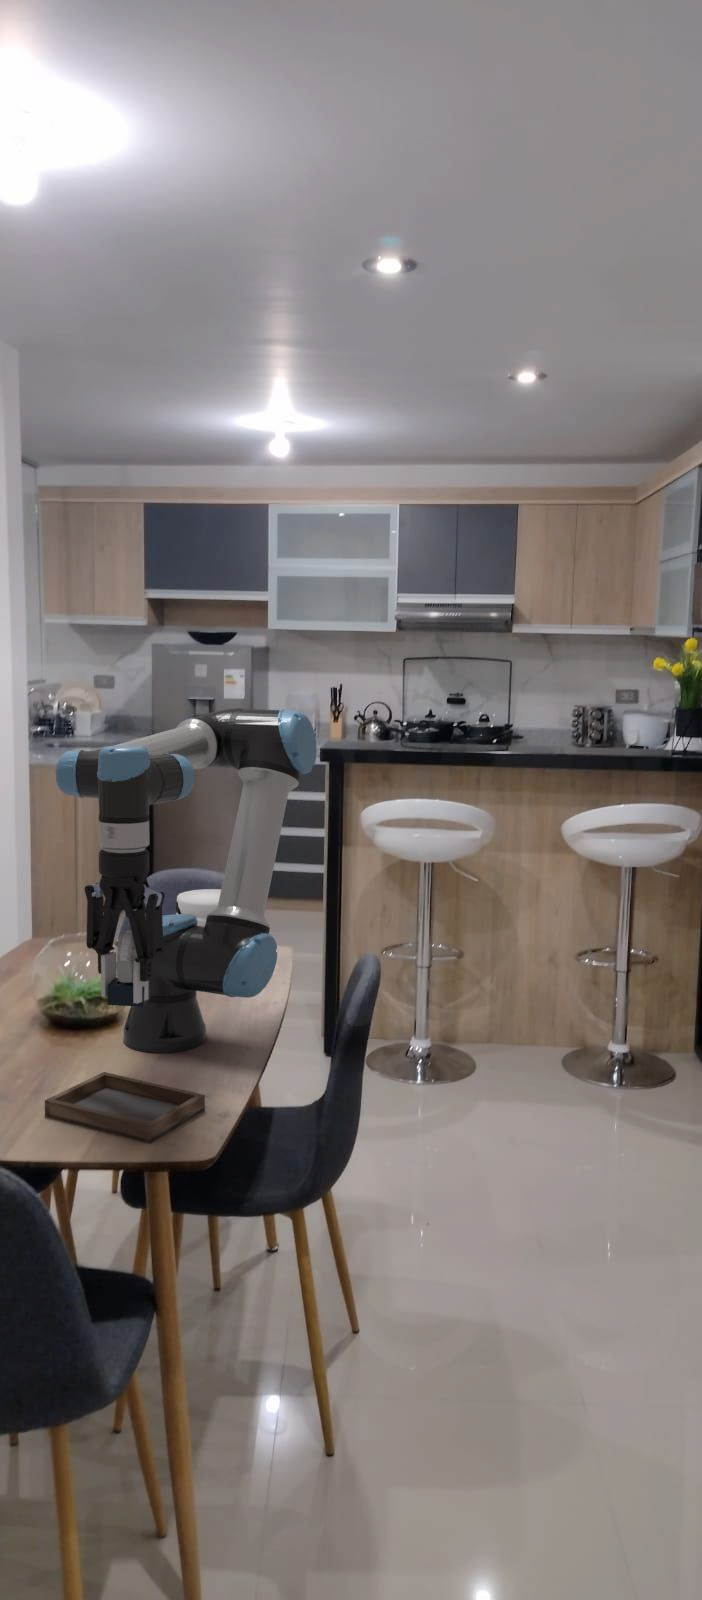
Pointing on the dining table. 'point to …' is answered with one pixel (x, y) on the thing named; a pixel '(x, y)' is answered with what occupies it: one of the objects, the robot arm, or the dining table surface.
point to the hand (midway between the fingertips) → (124, 997)
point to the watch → (125, 974)
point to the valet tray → (125, 1106)
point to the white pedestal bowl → (198, 903)
